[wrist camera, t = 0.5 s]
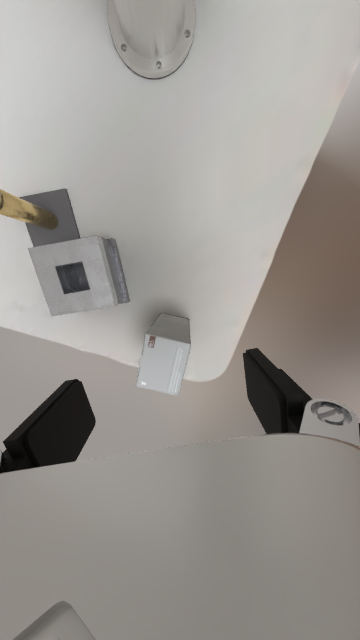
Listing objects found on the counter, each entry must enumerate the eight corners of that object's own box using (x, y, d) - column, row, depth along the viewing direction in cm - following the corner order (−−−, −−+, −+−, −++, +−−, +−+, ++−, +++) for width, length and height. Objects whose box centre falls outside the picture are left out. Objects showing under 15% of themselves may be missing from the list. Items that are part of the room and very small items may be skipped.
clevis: (54, 250, 36) (23, 245, 29) (115, 239, 36) (98, 231, 28) (73, 310, 39) (49, 319, 32) (129, 301, 39) (118, 308, 31)
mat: (18, 198, 34) (16, 198, 33) (66, 189, 33) (65, 188, 33) (36, 250, 36) (35, 250, 36) (81, 242, 36) (80, 242, 35)
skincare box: (181, 352, 42) (183, 400, 26) (150, 346, 41) (133, 391, 26) (190, 316, 40) (197, 346, 24) (157, 309, 39) (143, 334, 24)
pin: (37, 212, 34) (-37, 182, 22) (55, 209, 34) (-10, 176, 22) (44, 232, 35) (-24, 213, 23) (61, 229, 35) (2, 208, 23)
